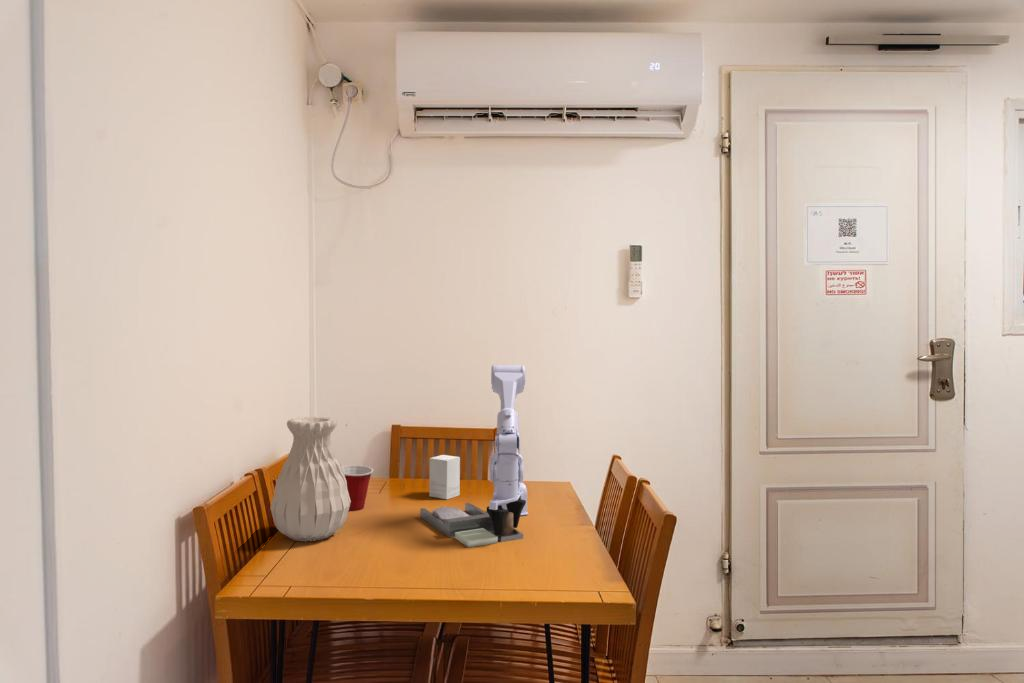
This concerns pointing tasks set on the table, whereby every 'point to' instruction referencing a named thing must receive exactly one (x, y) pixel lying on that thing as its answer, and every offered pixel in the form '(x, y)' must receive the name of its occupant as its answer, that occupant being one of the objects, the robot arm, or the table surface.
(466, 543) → the tray
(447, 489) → the supplement box
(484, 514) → the bench stop
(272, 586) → the table surface
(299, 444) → the vase
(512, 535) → the dowel socket
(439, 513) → the stone block
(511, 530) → the dowel
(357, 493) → the plastic cup
